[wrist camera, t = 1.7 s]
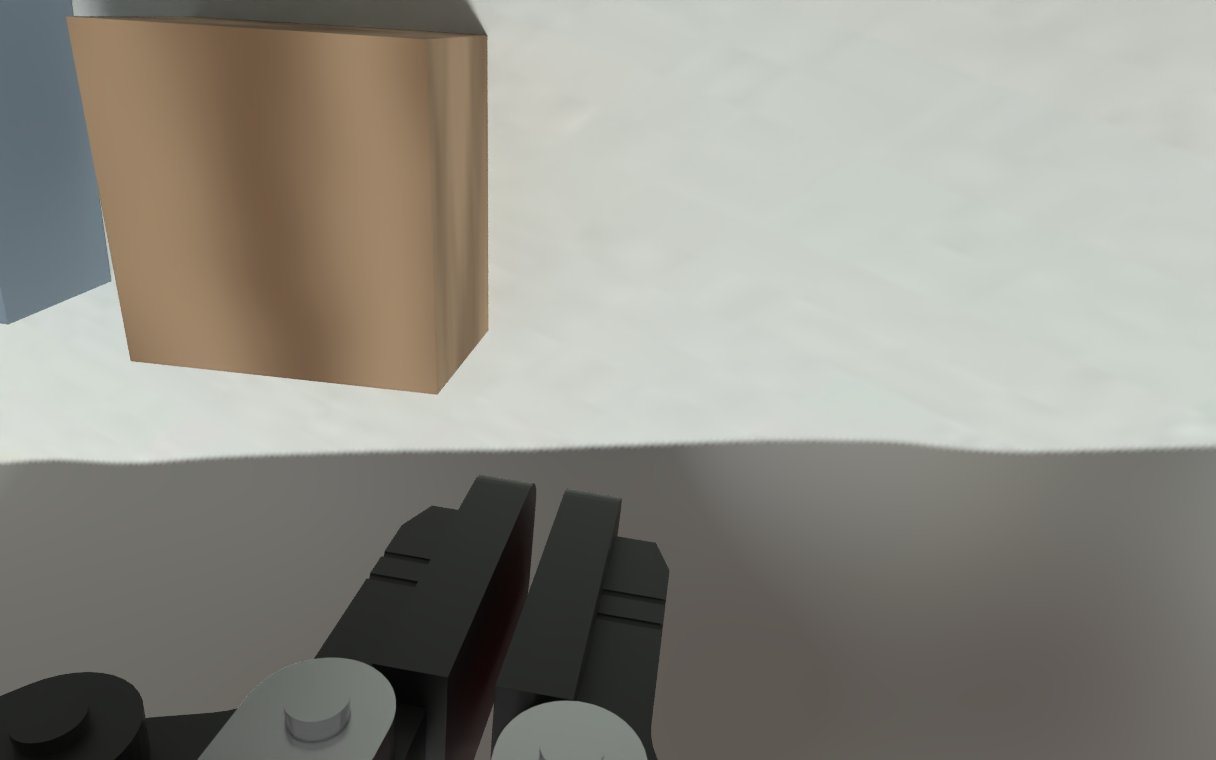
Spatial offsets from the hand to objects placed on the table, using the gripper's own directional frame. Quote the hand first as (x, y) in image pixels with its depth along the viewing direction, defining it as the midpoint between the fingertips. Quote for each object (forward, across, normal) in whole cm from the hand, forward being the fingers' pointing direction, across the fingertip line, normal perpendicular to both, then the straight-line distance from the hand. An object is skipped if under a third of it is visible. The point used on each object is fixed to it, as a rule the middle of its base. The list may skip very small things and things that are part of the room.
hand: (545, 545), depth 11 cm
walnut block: (+19, +11, 0) cm, 22 cm away
